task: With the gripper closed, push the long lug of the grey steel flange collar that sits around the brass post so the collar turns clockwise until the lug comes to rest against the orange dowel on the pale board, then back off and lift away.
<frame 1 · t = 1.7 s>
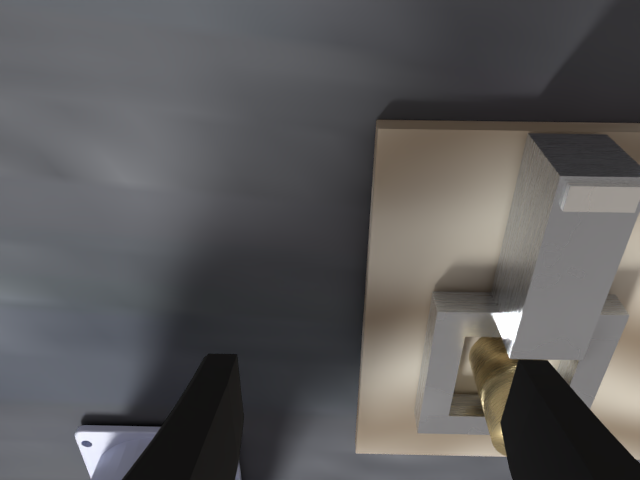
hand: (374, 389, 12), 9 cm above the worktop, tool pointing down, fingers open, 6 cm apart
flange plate: (535, 326, 20), point 3 cm above the worktop, hinge at 0.0°
board: (554, 315, 23), on the worktop
post: (504, 354, 23), resting on board
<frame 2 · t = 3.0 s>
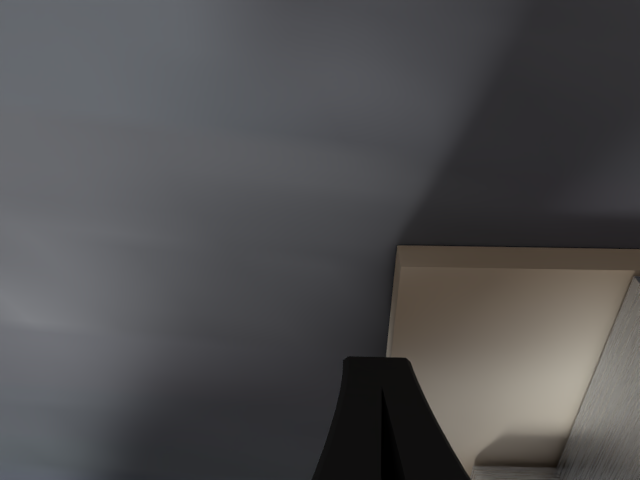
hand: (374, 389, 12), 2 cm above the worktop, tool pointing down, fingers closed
board: (636, 479, 17), on the worktop
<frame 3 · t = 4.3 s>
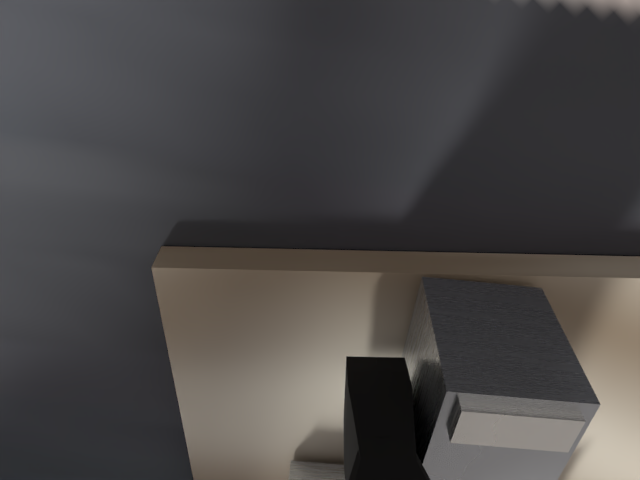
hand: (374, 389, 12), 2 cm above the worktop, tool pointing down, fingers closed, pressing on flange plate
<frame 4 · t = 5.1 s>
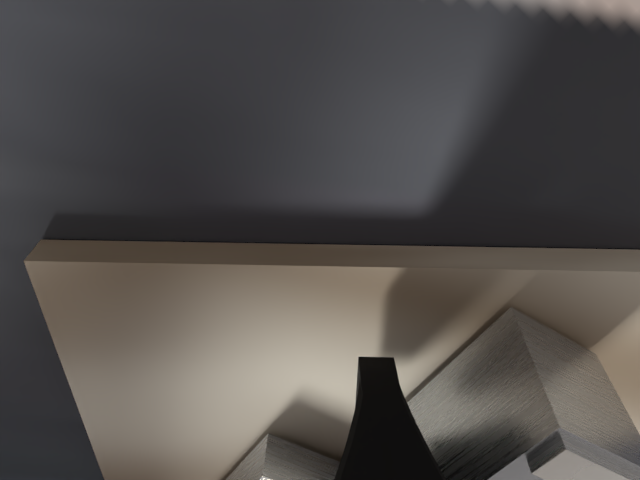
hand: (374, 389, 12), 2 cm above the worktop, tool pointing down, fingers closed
board: (380, 476, 17), on the worktop
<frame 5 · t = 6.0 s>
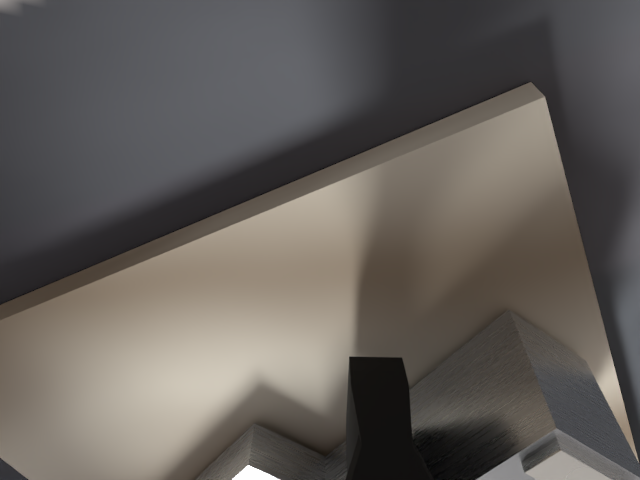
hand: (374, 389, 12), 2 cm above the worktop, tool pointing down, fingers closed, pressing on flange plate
board: (328, 454, 16), on the worktop
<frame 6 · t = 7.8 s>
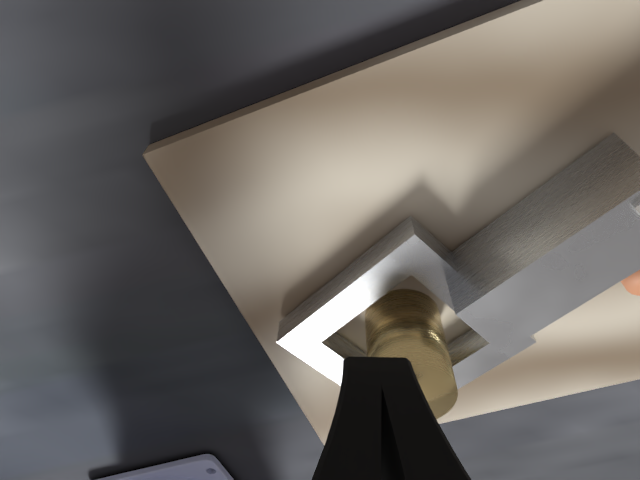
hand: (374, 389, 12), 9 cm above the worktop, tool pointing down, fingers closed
dowel: (607, 226, 19), resting on board
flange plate: (476, 303, 19), point 3 cm above the worktop, hinge at -65.2°, touching dowel
board: (437, 263, 21), on the worktop
post: (401, 317, 22), resting on board
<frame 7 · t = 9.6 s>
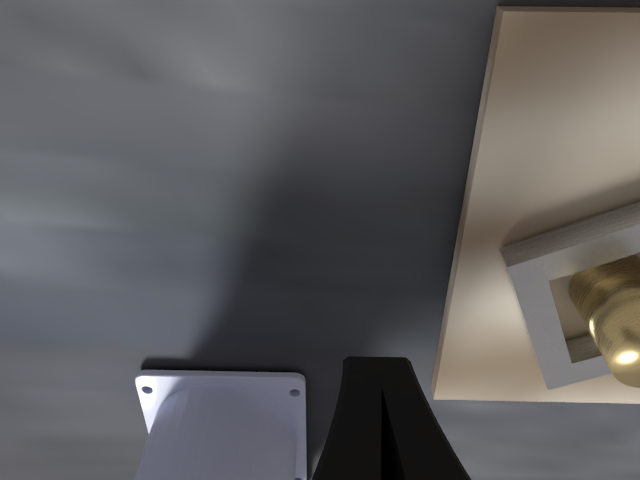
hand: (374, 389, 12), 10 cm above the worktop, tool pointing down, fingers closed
post: (607, 283, 21), resting on board
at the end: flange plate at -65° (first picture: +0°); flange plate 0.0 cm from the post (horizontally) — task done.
